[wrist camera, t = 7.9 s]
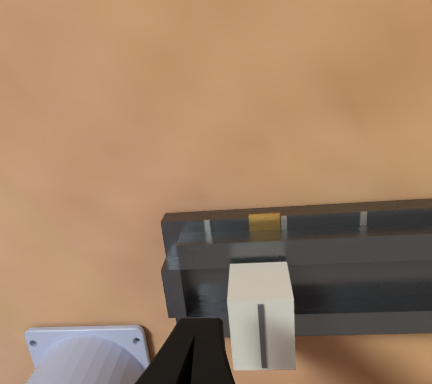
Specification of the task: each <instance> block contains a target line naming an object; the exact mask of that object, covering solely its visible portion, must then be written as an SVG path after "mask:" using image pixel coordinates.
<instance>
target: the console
mask: <svg viewBox="0 0 432 384" xmlns="http://www.w3.org/2000/svg"><path fill="white" fill-rule="evenodd" d="M161 227H162V233H163V240H164V246H165V252H166V259H165V261H164V264H163V266H162V269H161V274H162V281H163V287H164V293H165V299H166V305H167V311H168V317H169V318H176V323H177V322H178V321H179V320H180V319H181V318H220V319H221V320H222V321H223V328H224V337H230V326H229V316H228V306H227V295H228V282H229V269H230V264H241V263H266V262H287V266H288V271H289V276H290V281H291V287H292V292H293V297H294V325H295V336H317V335H364V334H412V333H432V199H414V200H396V201H378V202H360V203H342V204H324V205H306V206H288V207H270V208H252V209H234V210H216V211H198V212H180V213H165V215H164V217H163V219H162V221H161Z"/></svg>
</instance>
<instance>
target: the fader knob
mask: <svg viewBox="0 0 432 384" xmlns="http://www.w3.org/2000/svg"><path fill="white" fill-rule="evenodd" d="M227 306H228V316H229V326H230V337H231V347H232V357H233V367H234V370H296V362H295V325H294V297H293V292H292V287H291V281H290V276H289V271H288V266H287V262H266V263H241V264H230V269H229V282H228V295H227Z"/></svg>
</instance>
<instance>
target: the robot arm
mask: <svg viewBox="0 0 432 384" xmlns="http://www.w3.org/2000/svg"><path fill="white" fill-rule="evenodd" d="M135 338H138V339H140V340H136V339H135ZM25 339H26V343H27V346H28V349H29V352H30V355H31V358H32V361H33V364H34V367H35V370H34V372H33V373H32V375H31V376H30V378H29V379H28V381H27V382H26V384H235V382H234V379H233V376H232V373H231V369H230V366H229V362H228V359H227V355H226V351H225V340H224V328H223V321H222V320H221V319H220V318H181V319H180V320H179V321H178V322H177V324H176V326H175V327H174V329H173V331H172V332H171V334H170V335H169V337H168V338H167V340H166V341H165V343H164V344H163V346H162V347H161V349H160V350H159V352H158V353H157V355H156V356H155V357H154V359H153V360H152V361H151V363H150V357H149V352H148V347H147V342H146V337H145V332H144V329H143V328H142V327H141V326H139V325H118V326H78V327H38V328H29V329H28V330H27V331H26V333H25ZM35 341H36V342H35Z"/></svg>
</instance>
